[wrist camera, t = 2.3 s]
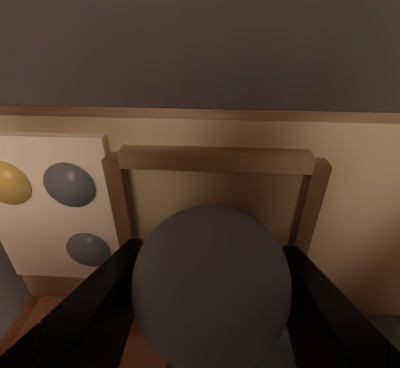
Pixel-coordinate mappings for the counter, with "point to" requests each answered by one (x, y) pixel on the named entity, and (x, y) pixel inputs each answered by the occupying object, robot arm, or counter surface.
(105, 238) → the card
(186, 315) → the slate ball
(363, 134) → the wooden sorting board
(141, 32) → the counter surface
